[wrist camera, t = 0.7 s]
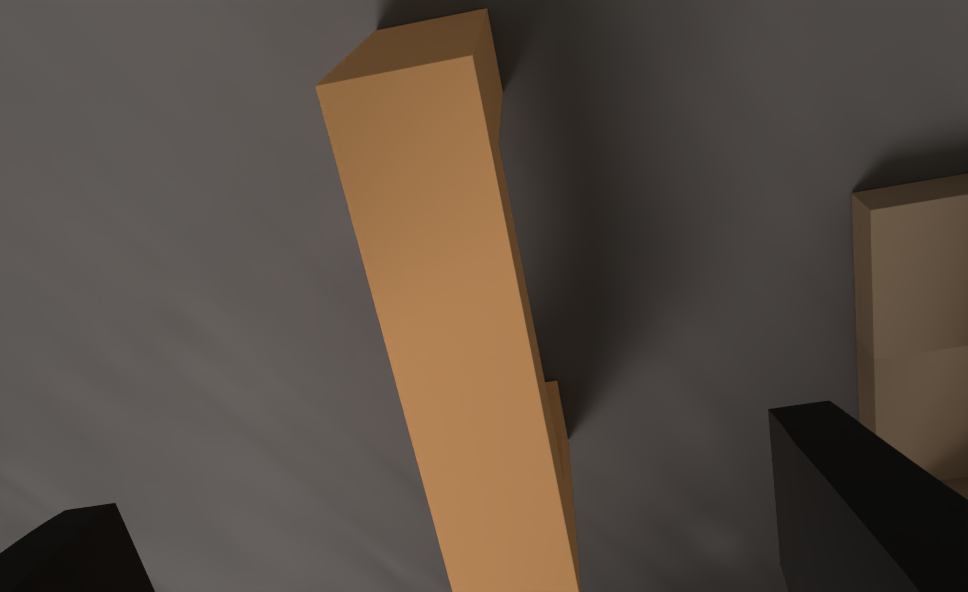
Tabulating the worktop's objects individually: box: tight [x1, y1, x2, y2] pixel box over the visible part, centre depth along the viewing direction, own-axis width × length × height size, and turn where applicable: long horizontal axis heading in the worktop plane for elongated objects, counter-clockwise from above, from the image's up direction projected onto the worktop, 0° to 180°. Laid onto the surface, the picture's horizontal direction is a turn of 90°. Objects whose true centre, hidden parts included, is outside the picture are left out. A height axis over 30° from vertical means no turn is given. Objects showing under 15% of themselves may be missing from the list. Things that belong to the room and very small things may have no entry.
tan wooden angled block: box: [316, 8, 581, 592], centre depth 15 cm, size 9×2×5 cm, turn 11°
